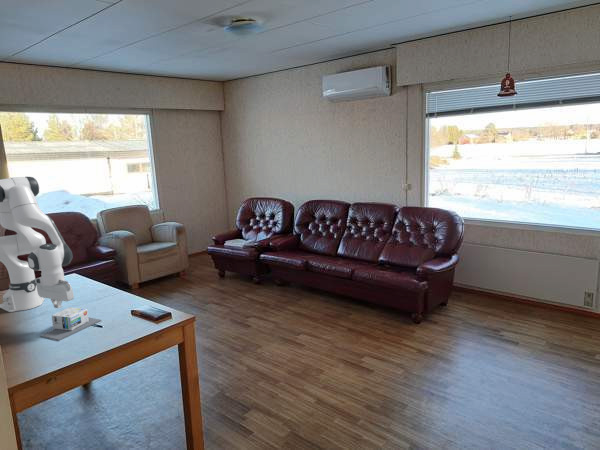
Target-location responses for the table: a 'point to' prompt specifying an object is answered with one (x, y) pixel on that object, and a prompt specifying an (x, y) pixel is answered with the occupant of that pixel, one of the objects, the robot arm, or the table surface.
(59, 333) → the pad
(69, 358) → the table surface
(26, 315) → the table surface
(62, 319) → the light bulb box
